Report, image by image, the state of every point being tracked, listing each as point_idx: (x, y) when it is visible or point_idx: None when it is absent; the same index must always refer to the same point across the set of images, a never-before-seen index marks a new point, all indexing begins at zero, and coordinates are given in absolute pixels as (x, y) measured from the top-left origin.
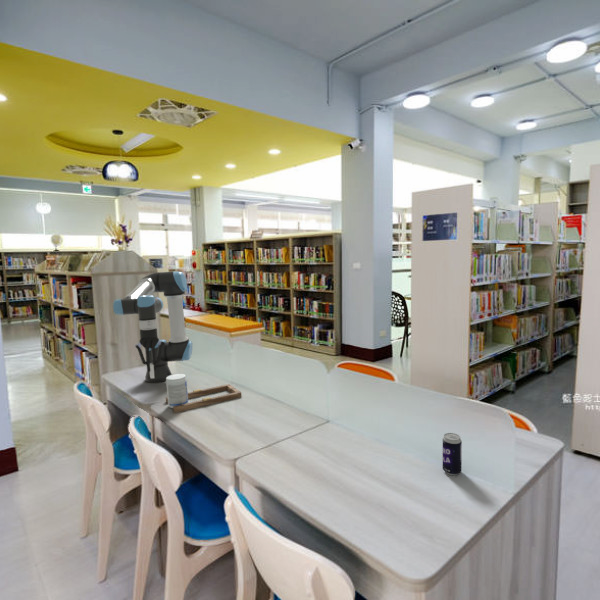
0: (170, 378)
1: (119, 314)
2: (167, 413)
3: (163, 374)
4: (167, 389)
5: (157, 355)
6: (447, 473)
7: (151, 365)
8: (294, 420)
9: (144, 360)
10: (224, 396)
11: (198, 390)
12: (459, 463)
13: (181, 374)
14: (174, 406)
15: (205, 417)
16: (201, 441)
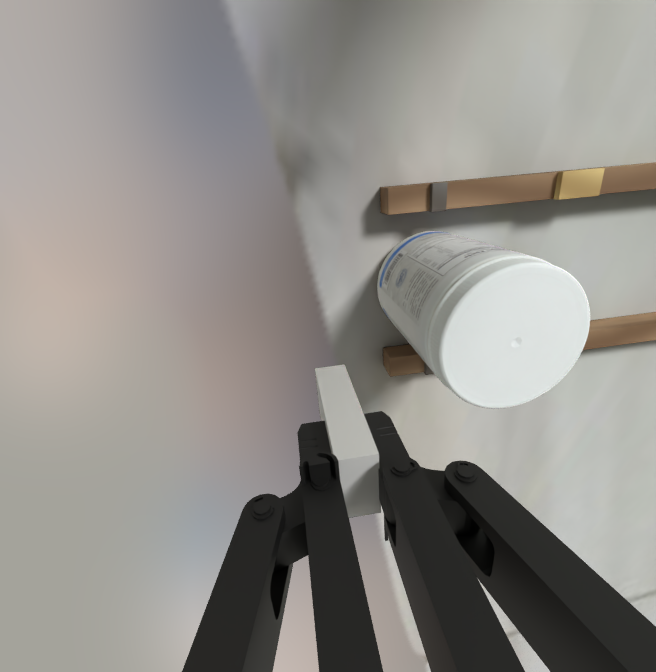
0: (465, 372)
1: None
2: (354, 357)
3: None
4: (407, 330)
5: (506, 592)
6: None
7: (354, 511)
8: (637, 559)
9: (276, 609)
10: (623, 343)
11: (584, 193)
12: None
13: (573, 306)
14: (395, 360)
15: (466, 457)
16: (395, 586)
